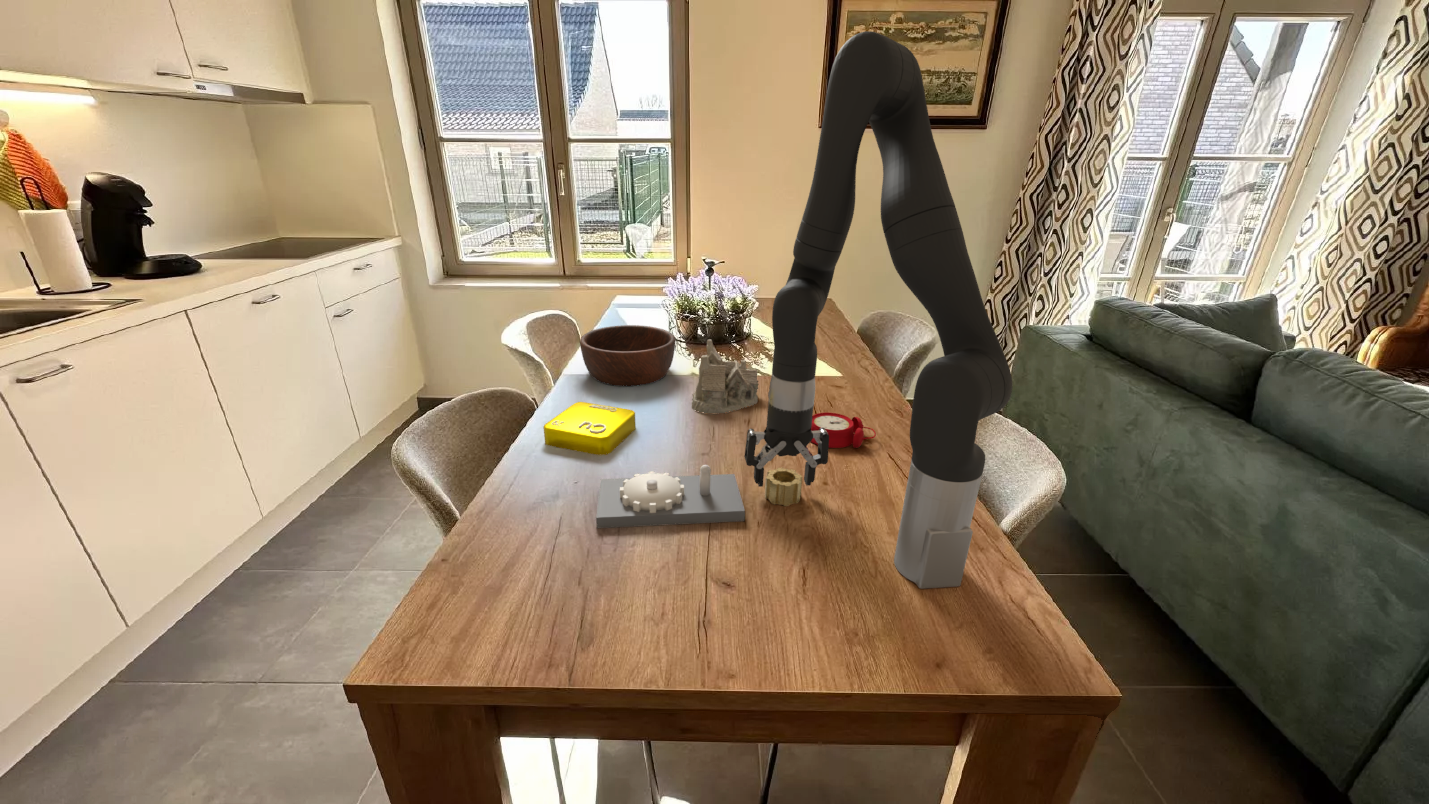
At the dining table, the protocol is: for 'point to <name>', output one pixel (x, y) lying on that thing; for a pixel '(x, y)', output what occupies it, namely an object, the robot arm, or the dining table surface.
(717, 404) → the ceramic cottage
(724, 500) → the gear board
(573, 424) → the element tile
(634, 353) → the wooden bowl
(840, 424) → the alarm clock
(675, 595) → the dining table surface
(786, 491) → the brass gear
